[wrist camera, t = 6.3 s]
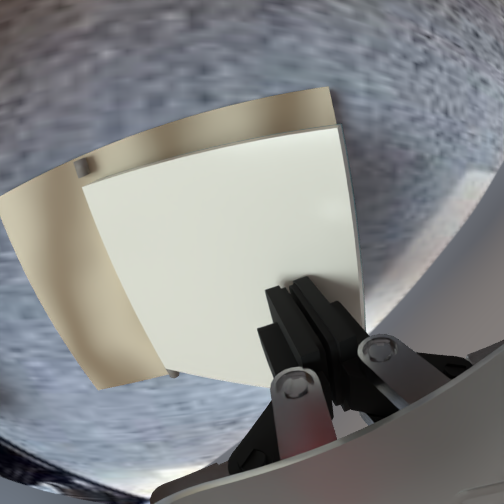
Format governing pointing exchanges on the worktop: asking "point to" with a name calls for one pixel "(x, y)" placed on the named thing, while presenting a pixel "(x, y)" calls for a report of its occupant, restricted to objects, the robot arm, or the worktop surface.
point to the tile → (231, 243)
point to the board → (90, 242)
